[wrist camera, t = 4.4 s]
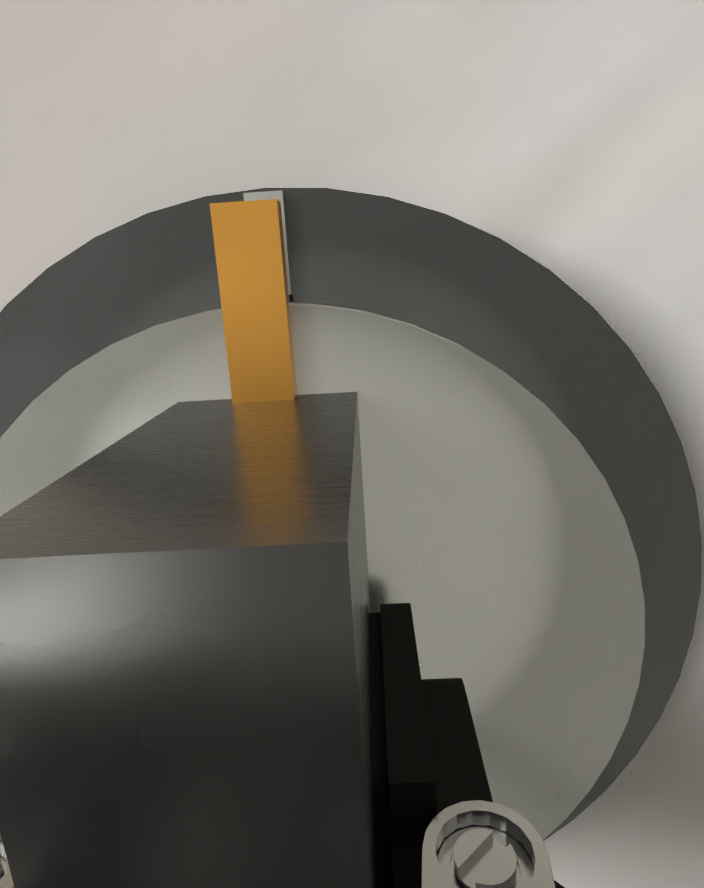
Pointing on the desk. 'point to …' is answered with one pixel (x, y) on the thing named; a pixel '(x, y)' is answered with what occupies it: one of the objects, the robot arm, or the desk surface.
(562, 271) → the desk surface
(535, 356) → the dial base
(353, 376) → the dial
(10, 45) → the desk surface
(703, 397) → the desk surface
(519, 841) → the robot arm
